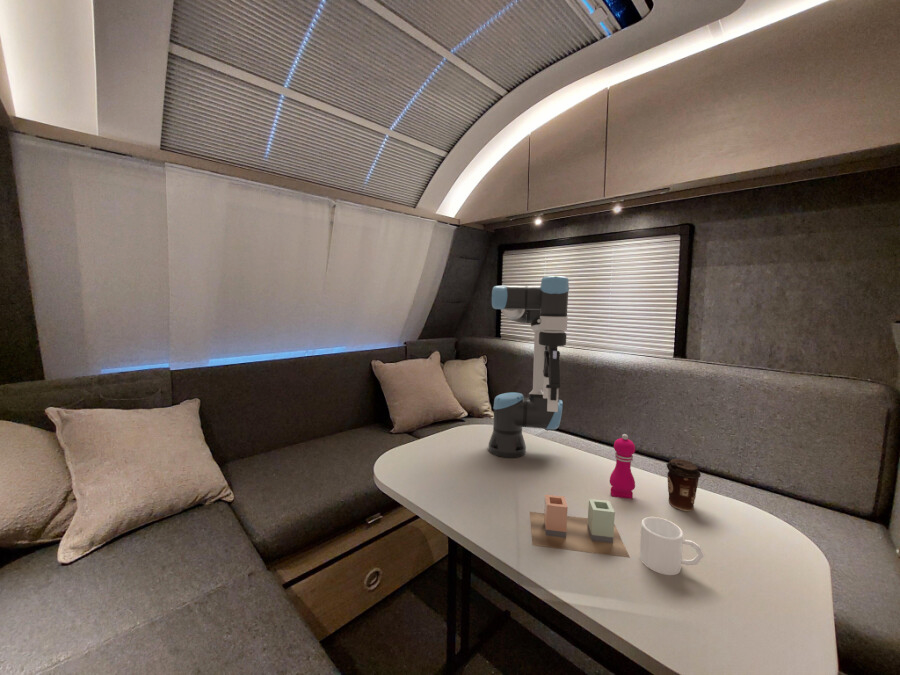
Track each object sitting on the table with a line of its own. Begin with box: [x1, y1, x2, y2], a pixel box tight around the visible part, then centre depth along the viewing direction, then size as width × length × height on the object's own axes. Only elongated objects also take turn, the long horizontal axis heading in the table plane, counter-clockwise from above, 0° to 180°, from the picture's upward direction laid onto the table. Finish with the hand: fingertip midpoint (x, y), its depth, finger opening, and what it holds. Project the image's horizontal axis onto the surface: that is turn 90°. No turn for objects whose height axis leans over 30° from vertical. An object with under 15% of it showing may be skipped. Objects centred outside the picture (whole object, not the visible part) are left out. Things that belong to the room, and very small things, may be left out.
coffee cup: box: [665, 458, 701, 512], centre depth 106 cm, size 9×8×13 cm
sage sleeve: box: [587, 498, 616, 543], centre depth 89 cm, size 5×5×8 cm
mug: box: [638, 516, 705, 576], centre depth 79 cm, size 8×12×10 cm
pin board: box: [529, 511, 631, 559], centre depth 90 cm, size 14×22×8 cm, turn 80°
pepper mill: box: [609, 433, 636, 500], centre depth 110 cm, size 7×7×20 cm
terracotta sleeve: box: [543, 494, 569, 538], centre depth 91 cm, size 5×5×8 cm
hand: (549, 404), depth 102 cm, fingers open, 13 cm apart
